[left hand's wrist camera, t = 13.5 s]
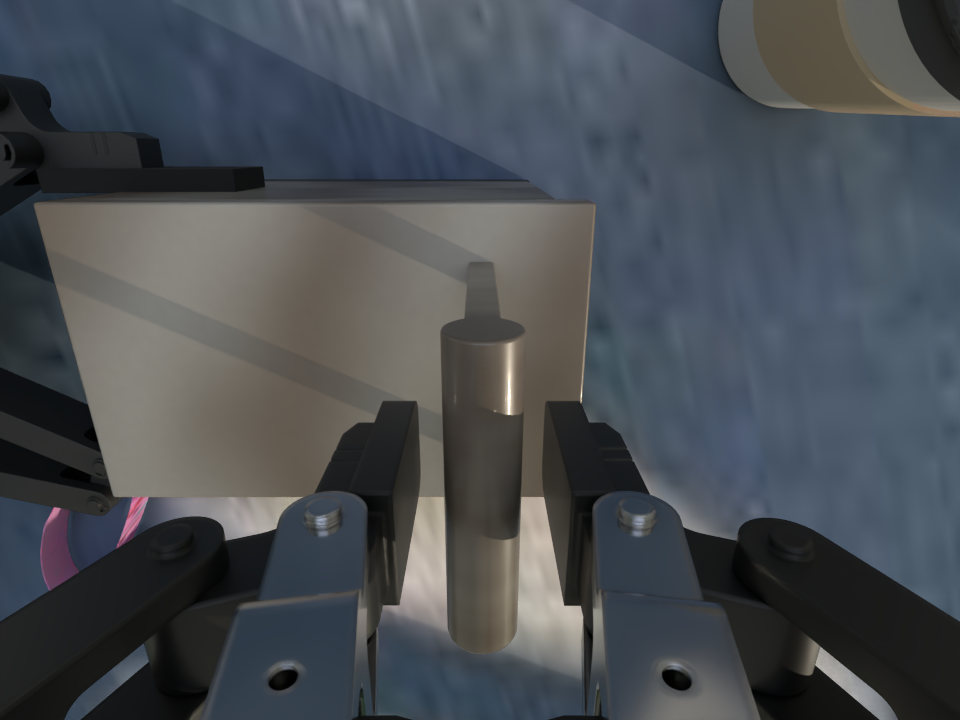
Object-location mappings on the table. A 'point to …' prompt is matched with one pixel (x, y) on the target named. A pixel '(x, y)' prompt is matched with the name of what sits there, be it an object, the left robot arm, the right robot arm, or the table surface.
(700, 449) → the table surface
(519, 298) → the lid
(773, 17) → the coffee cup
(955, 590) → the table surface
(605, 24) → the table surface
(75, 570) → the headband
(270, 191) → the chest
